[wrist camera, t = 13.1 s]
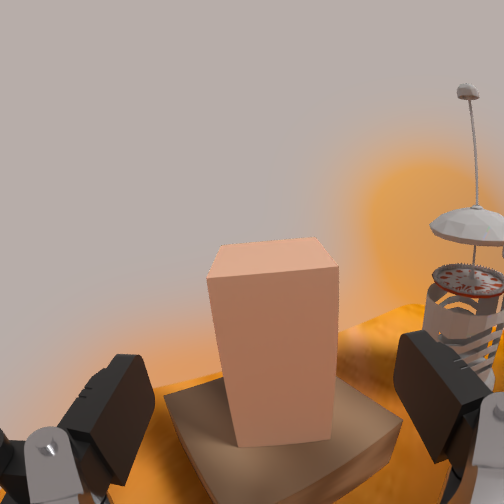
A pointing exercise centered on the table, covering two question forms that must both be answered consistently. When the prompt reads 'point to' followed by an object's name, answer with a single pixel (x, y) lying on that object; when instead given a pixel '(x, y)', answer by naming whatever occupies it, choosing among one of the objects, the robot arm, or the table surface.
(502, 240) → the french press
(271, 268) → the terracotta block
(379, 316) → the table surface
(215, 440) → the walnut block
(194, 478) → the table surface
